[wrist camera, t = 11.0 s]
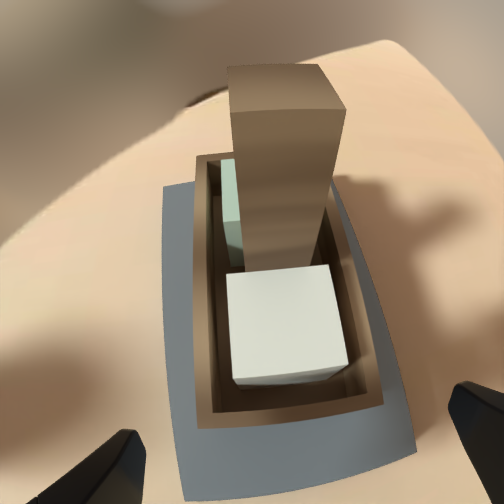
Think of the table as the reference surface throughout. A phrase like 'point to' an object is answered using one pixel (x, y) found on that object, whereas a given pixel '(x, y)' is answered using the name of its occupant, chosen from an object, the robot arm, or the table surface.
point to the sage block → (231, 213)
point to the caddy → (276, 243)
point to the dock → (277, 435)
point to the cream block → (284, 327)
